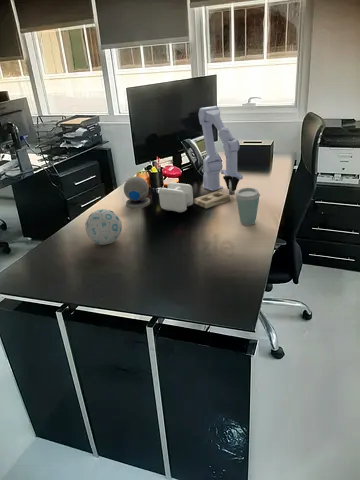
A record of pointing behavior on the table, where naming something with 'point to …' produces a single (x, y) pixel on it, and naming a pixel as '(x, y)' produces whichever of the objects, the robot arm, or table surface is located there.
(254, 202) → the disposable coffee cup
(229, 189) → the pin
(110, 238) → the puzzle ball
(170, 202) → the cable organizer
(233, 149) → the robot arm
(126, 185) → the webcam
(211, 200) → the socket block
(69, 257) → the table surface
